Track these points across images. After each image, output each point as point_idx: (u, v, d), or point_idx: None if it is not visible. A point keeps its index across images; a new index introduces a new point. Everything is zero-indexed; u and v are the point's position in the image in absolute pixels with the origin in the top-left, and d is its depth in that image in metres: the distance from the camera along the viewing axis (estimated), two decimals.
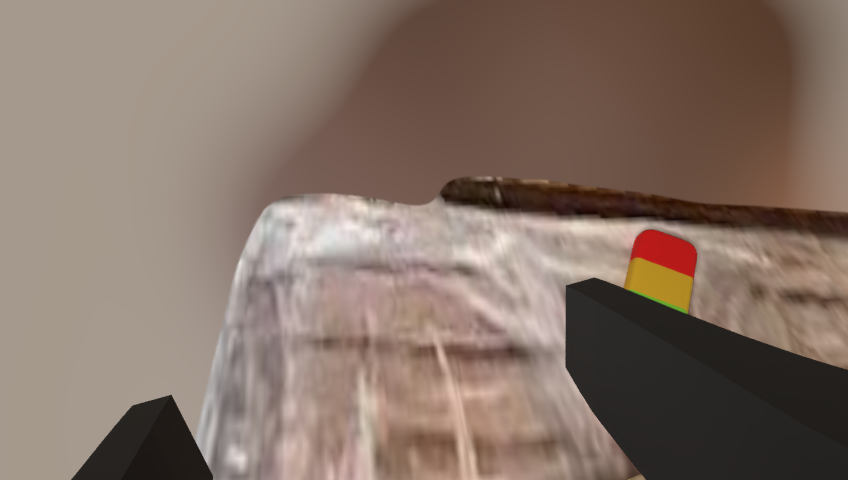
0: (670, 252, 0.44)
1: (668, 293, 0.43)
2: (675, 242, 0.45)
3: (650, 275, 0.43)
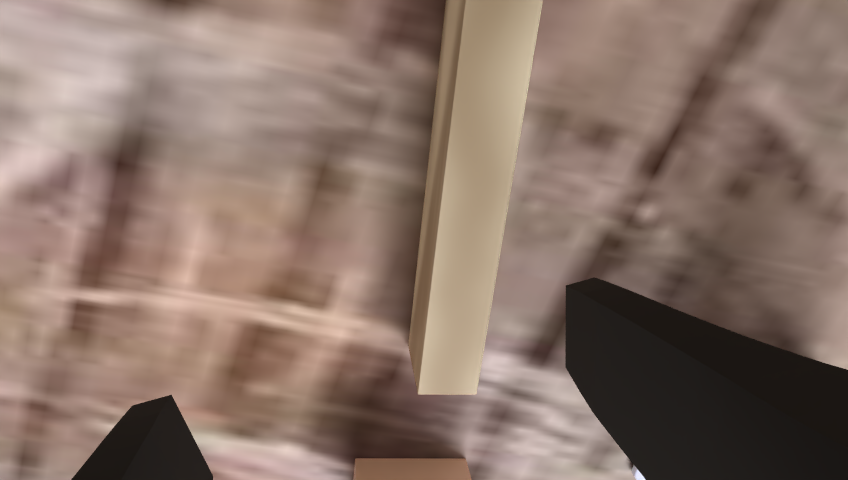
0: None
1: None
2: None
3: None
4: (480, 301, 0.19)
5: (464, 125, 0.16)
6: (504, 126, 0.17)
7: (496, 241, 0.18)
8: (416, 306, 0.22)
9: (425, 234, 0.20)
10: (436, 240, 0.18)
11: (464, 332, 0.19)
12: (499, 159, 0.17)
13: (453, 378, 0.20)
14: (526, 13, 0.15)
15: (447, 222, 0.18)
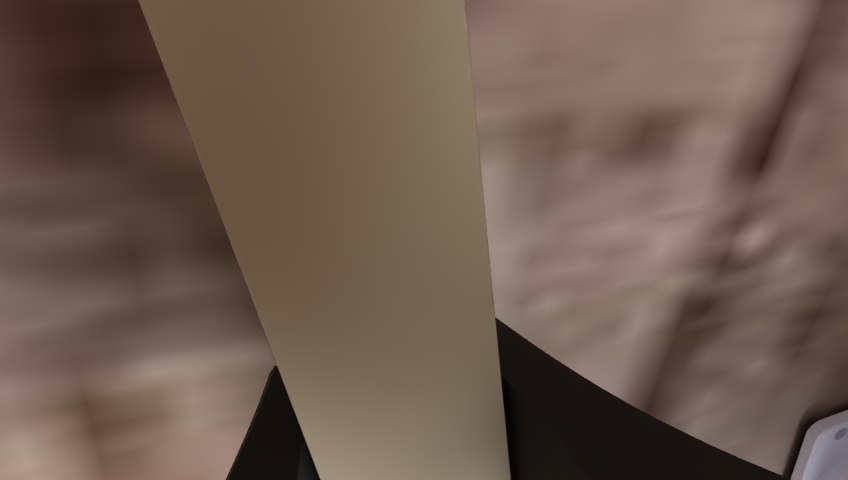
0: None
1: None
2: None
3: None
4: None
5: (318, 342, 0.05)
6: (441, 300, 0.05)
7: None
8: None
9: None
10: None
11: None
12: (452, 376, 0.06)
13: None
14: None
15: None
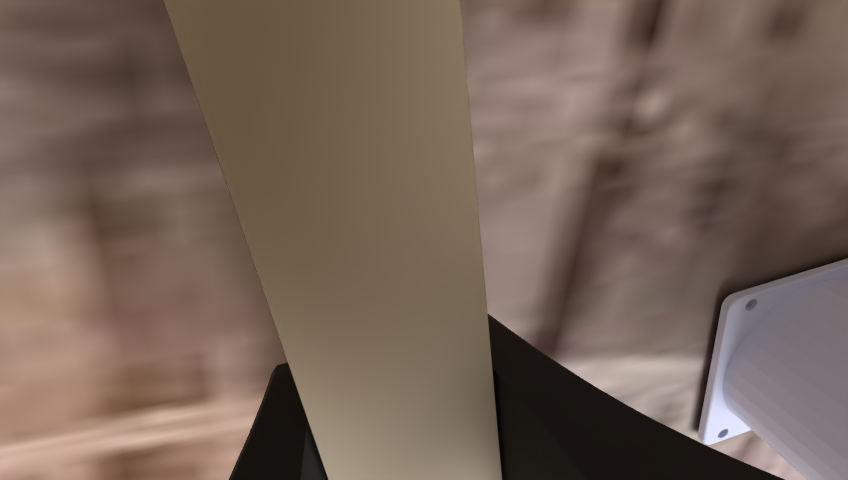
0: None
1: None
2: None
3: None
4: None
5: (318, 315, 0.06)
6: (434, 278, 0.06)
7: None
8: None
9: None
10: None
11: None
12: (445, 352, 0.06)
13: None
14: None
15: None
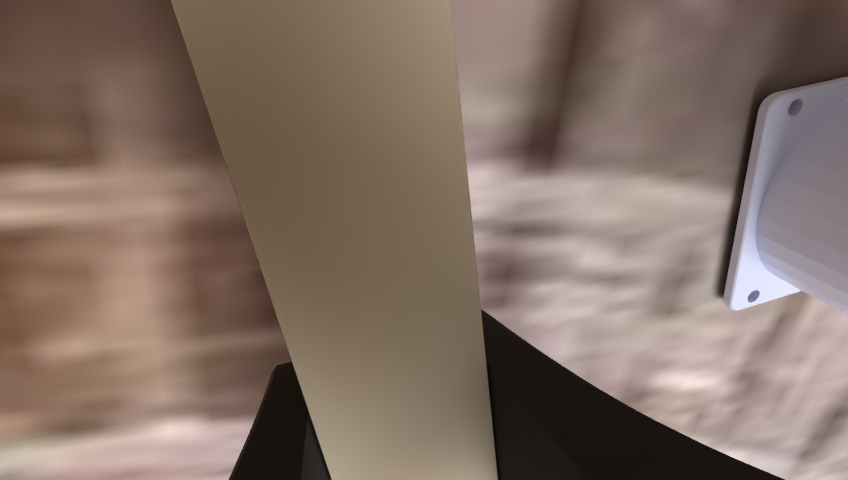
0: None
1: None
2: None
3: None
4: None
5: (315, 300, 0.06)
6: (428, 264, 0.06)
7: (484, 479, 0.08)
8: None
9: None
10: None
11: None
12: (438, 338, 0.06)
13: None
14: None
15: None
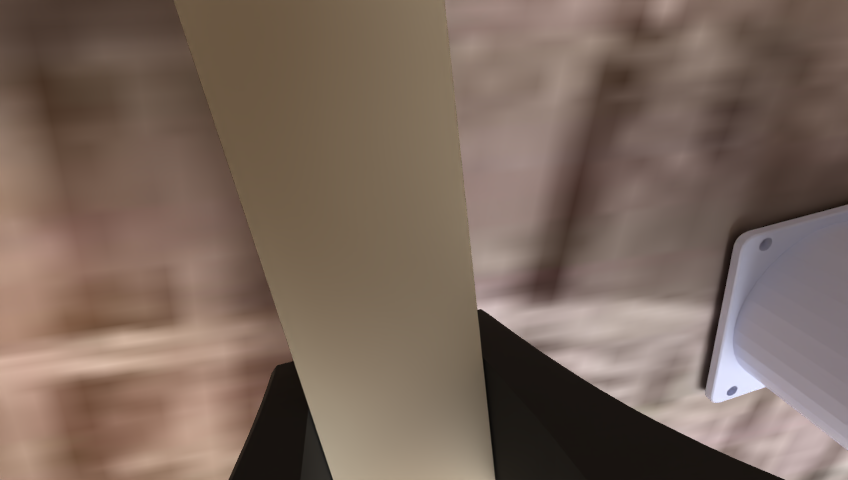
0: None
1: None
2: None
3: None
4: None
5: (315, 295, 0.06)
6: (425, 261, 0.06)
7: (481, 474, 0.08)
8: None
9: None
10: None
11: None
12: (436, 333, 0.07)
13: None
14: None
15: None
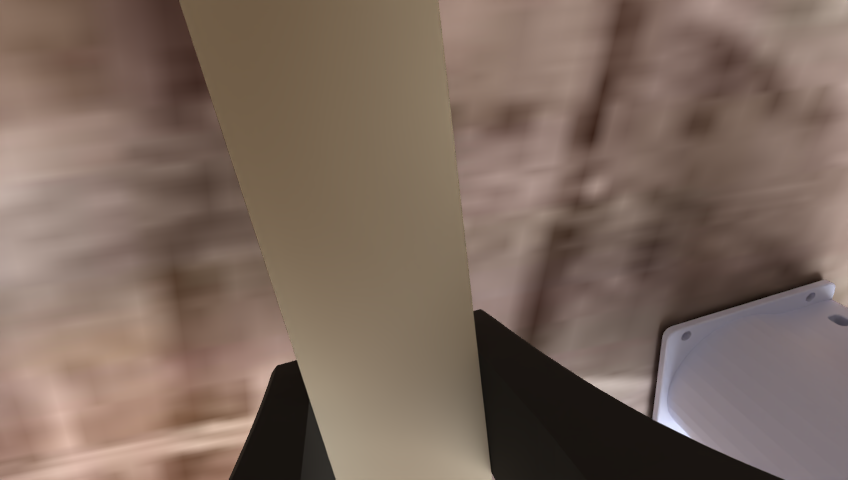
0: None
1: None
2: None
3: None
4: None
5: (313, 285, 0.06)
6: (420, 251, 0.06)
7: (477, 463, 0.08)
8: None
9: None
10: None
11: None
12: (432, 323, 0.07)
13: None
14: None
15: (356, 476, 0.08)
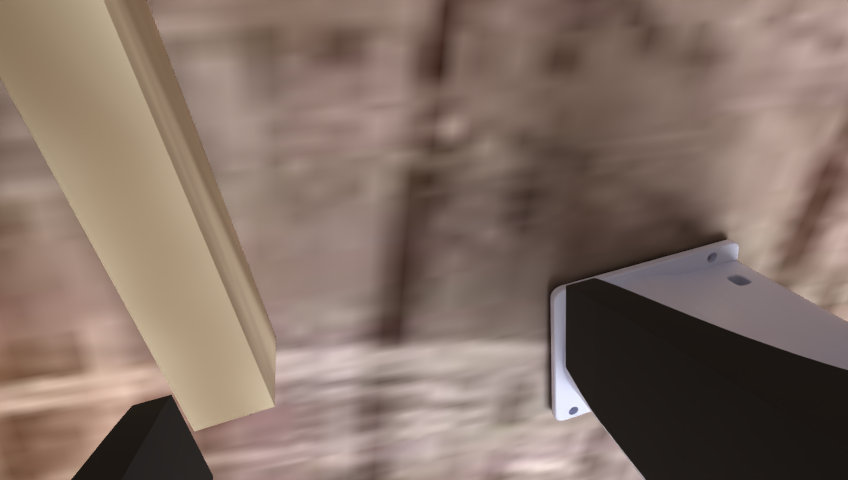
0: None
1: None
2: None
3: None
4: (211, 299, 0.13)
5: (18, 59, 0.10)
6: (88, 41, 0.10)
7: (184, 215, 0.12)
8: None
9: None
10: (92, 241, 0.12)
11: (211, 343, 0.14)
12: (112, 96, 0.11)
13: (231, 399, 0.15)
14: None
15: (90, 212, 0.12)
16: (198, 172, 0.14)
